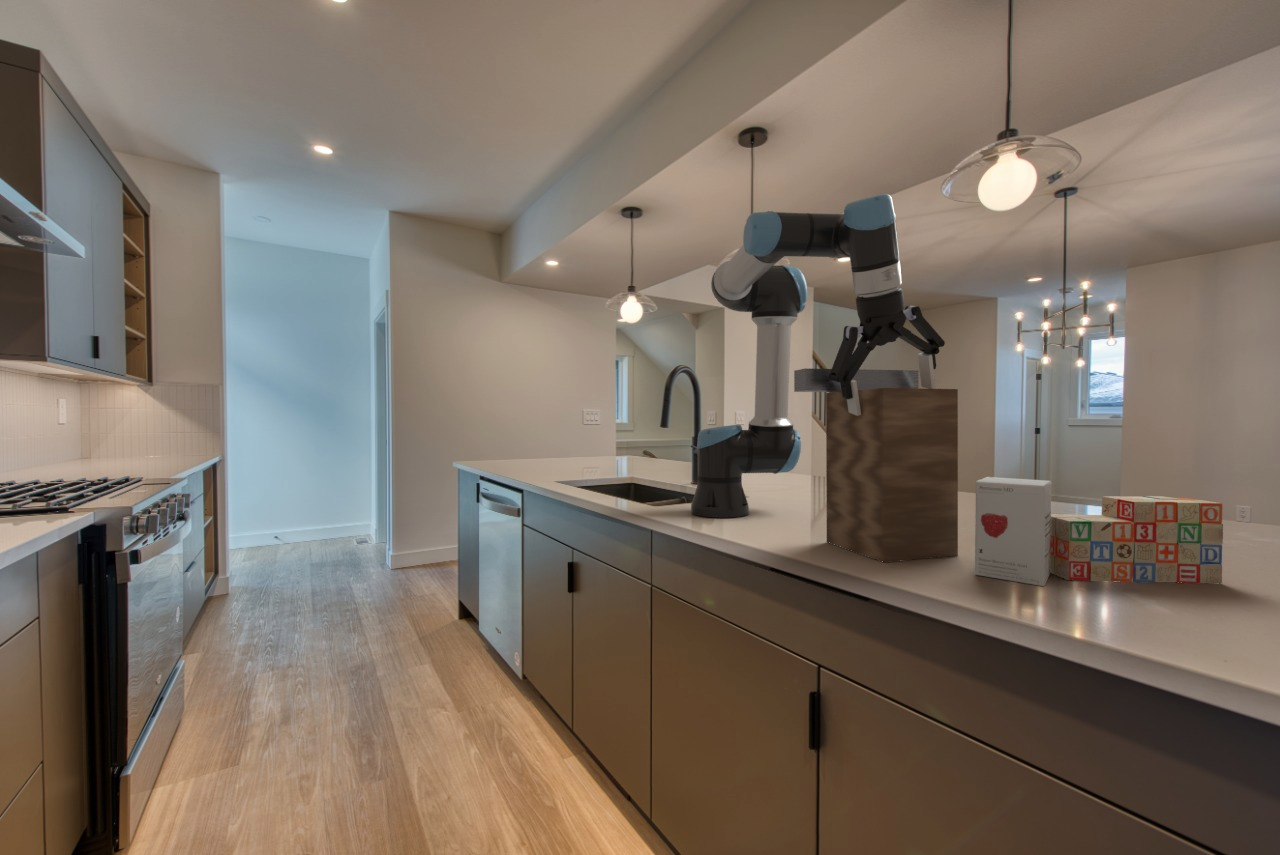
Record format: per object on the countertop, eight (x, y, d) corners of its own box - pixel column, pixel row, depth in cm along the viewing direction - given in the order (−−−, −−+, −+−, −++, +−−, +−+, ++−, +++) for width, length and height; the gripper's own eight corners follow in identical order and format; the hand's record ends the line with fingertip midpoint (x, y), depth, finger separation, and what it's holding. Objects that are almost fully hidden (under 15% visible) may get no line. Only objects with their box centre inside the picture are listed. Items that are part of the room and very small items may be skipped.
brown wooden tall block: (826, 542, 107) (826, 373, 106) (892, 537, 111) (892, 374, 111) (883, 562, 91) (883, 364, 91) (957, 555, 96) (957, 366, 95)
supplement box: (973, 575, 83) (972, 480, 83) (984, 564, 90) (984, 475, 90) (1045, 587, 77) (1045, 484, 77) (1052, 574, 84) (1052, 479, 84)
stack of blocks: (1068, 582, 80) (1068, 500, 80) (1040, 570, 86) (1040, 495, 86) (1223, 585, 78) (1223, 501, 78) (1183, 573, 84) (1184, 495, 84)
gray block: (794, 391, 100) (794, 370, 100) (903, 392, 106) (903, 372, 106) (805, 390, 96) (805, 368, 96) (918, 391, 102) (918, 370, 102)
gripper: (822, 314, 87) (840, 428, 93) (960, 269, 90) (969, 382, 96) (799, 311, 94) (817, 417, 100) (928, 270, 97) (938, 375, 103)
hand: (892, 404), depth 98 cm, fingers open, 15 cm apart
